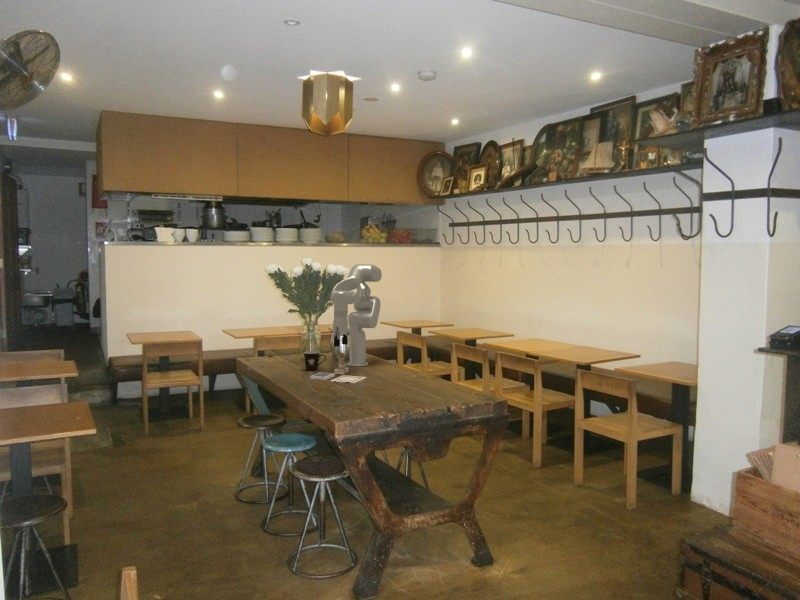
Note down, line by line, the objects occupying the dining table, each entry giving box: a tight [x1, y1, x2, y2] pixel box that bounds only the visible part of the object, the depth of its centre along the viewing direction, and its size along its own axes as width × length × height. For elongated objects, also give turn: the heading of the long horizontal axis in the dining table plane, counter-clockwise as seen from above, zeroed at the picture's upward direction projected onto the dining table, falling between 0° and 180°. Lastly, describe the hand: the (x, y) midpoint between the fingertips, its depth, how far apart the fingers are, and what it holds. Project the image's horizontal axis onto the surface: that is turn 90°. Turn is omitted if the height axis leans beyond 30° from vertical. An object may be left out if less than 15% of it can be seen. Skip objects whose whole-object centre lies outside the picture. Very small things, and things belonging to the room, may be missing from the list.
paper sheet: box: [330, 374, 368, 384], centre depth 326 cm, size 15×14×1 cm
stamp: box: [333, 352, 349, 376], centre depth 339 cm, size 6×5×12 cm
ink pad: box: [309, 372, 336, 381], centre depth 330 cm, size 11×9×2 cm
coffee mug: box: [303, 350, 327, 372], centre depth 350 cm, size 12×9×10 cm
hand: (340, 345), depth 338 cm, fingers open, 9 cm apart
